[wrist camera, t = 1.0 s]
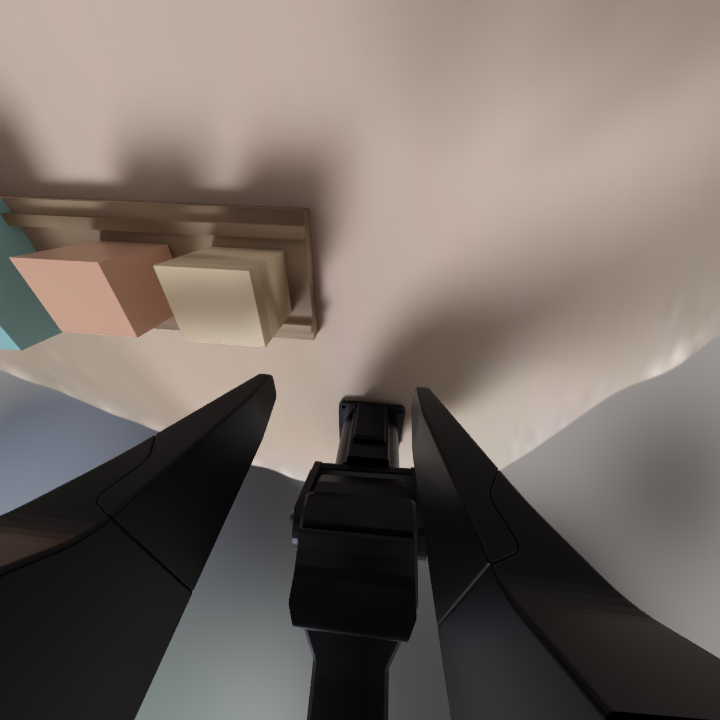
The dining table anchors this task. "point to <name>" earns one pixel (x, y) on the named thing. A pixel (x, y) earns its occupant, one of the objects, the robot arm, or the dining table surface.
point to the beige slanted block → (227, 294)
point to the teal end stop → (19, 294)
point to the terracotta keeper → (99, 286)
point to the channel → (180, 237)
